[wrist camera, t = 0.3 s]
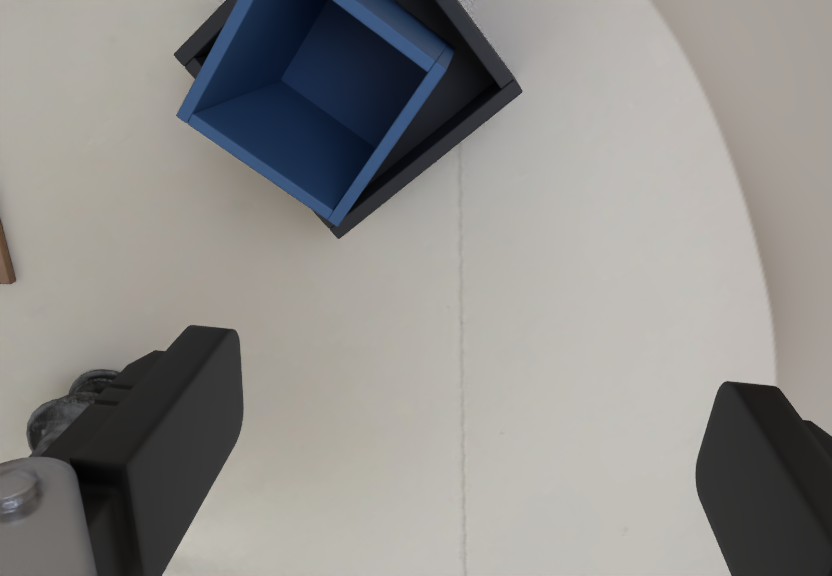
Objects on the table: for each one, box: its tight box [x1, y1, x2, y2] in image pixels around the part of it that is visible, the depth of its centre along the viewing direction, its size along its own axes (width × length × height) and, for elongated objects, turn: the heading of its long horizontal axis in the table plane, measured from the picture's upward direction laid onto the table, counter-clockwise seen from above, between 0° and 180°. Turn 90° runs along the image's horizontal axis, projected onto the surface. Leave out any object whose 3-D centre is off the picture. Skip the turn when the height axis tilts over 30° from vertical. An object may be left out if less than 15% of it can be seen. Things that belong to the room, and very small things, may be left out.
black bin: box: [174, 0, 522, 239], centre depth 28 cm, size 10×10×5 cm
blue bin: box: [177, 0, 456, 226], centre depth 24 cm, size 6×6×10 cm
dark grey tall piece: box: [26, 370, 120, 457], centre depth 33 cm, size 6×6×12 cm
